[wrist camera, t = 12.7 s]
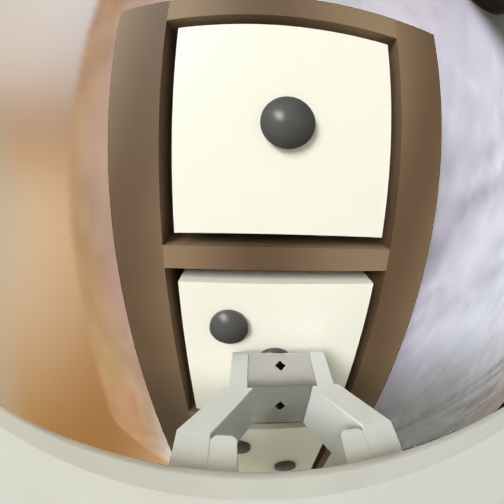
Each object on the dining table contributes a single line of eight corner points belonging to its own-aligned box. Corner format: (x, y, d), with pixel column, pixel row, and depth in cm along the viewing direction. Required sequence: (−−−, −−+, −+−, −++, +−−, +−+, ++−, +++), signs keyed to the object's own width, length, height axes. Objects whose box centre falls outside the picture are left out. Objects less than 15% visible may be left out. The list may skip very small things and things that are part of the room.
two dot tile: (323, 395, 13) (331, 428, 10) (305, 448, 15) (309, 475, 12) (205, 396, 12) (199, 430, 10) (213, 449, 14) (211, 476, 12)
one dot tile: (363, 61, 7) (390, 42, 5) (358, 221, 9) (384, 239, 7) (192, 50, 7) (176, 25, 5) (189, 216, 9) (172, 234, 7)
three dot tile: (353, 260, 10) (375, 286, 8) (328, 376, 12) (338, 409, 10) (191, 257, 10) (176, 284, 8) (202, 376, 12) (195, 411, 10)
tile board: (390, 58, 9) (433, 34, 5) (326, 436, 16) (334, 474, 13) (154, 44, 8) (121, 11, 5) (189, 437, 16) (183, 476, 13)
